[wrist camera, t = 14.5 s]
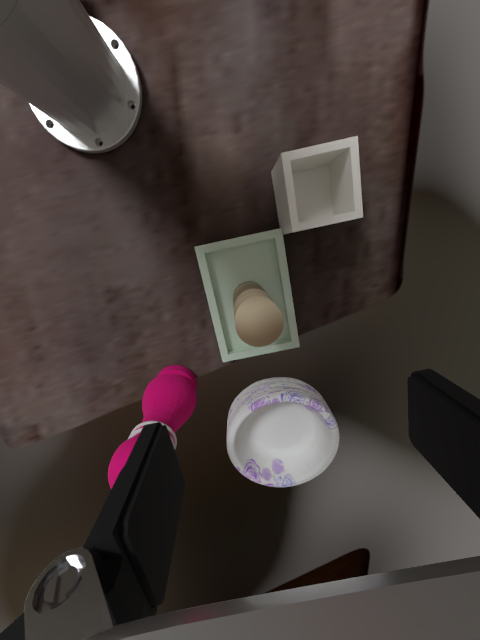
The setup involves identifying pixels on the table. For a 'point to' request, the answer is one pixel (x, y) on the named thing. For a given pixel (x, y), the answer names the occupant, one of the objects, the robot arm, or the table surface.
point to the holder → (318, 185)
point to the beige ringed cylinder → (256, 315)
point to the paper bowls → (281, 432)
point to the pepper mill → (160, 410)
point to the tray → (242, 266)
